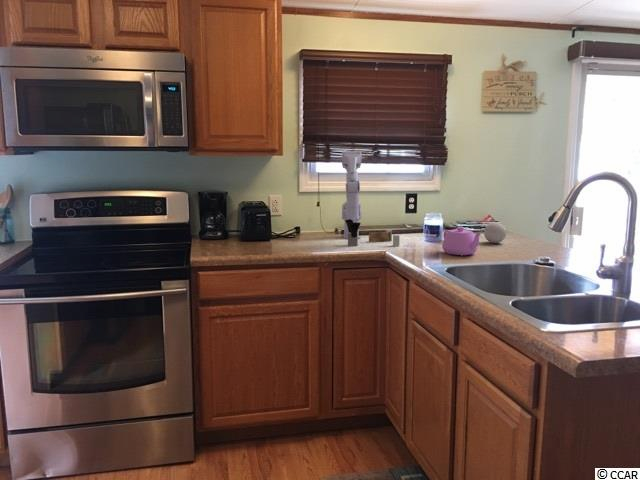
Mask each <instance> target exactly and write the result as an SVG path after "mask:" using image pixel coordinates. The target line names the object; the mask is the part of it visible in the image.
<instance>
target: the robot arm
mask: <svg viewBox="0 0 640 480" xmlns="http://www.w3.org/2000/svg"><path fill="white" fill-rule="evenodd" d="M341 165H342V168H343V169H345V170H346V174H345V175H346V179H345V180H346V183H345V195H346V201H345V202H343V204H342V205H341V219H342V220H343V221H344V224H343V234H342V237H343V238H344V239H345V240H346V239H347V240H348V232H351V236H352V237H357V234H358V239H361V237H360V236H359V232H360V231H359V228H360V225H361V222H360V220H361V219H362V205H361V204H360V192H361V184H360V183H361V182H360V179H359V172H358V171H357V169H359V168H361V166H362V151H361V150H342V151H341Z"/></svg>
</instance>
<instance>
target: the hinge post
mask: <svg viewBox="0 0 640 480" xmlns="http://www.w3.org/2000/svg"><path fill="white" fill-rule="evenodd" d="M385 232H391V241H390V242H393V230H392V229H386V230H385Z"/></svg>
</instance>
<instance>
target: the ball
mask: <svg viewBox="0 0 640 480" xmlns="http://www.w3.org/2000/svg"><path fill="white" fill-rule="evenodd" d="M483 235H484V238H485V239H486V240H487V242H489V243H491V244H499V243H501V242H503V241H504V240H505V239H506V236H507V229H506V228H505V226H504V224H502V223H500V222H497V221H496V222H490V223H489V224H487V225H486V226H485V228H484V230H483Z"/></svg>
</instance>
